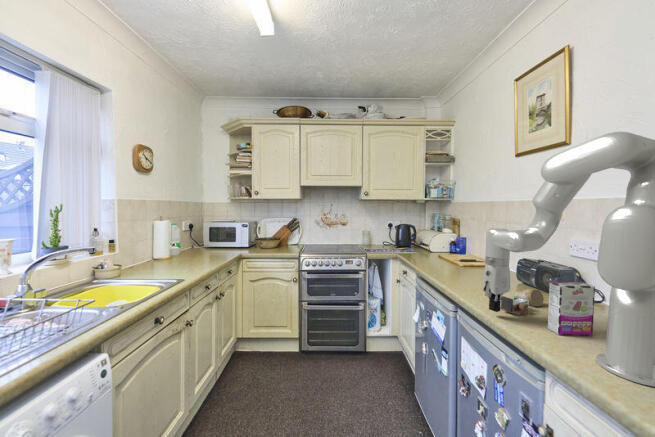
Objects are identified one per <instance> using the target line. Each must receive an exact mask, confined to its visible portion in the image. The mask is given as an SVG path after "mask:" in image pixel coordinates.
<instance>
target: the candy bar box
mask: <svg viewBox="0 0 655 437" xmlns="http://www.w3.org/2000/svg"><path fill="white" fill-rule="evenodd" d="M548 283H549V286H548V287H549V288H548V291H549V292H548V309H547V310H548V311H547V329H548V330H549V331H551V332H553V333H554V334H556V335H558V336H576V337H577V336H587V337H588V336H589V337H590V336H593V335H594V313H595V312H594V311H595V297H596V296H595V295H596V294H595V293H596V286H595V285H592V284H589V283H586V282H580V281H579V282H578V281H577V282H575V281H574V282H573V281H572V282H571V281H569V282H567V281H566V282H565V281H562V282H559V281H550V282H548Z"/></svg>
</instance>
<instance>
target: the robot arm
mask: <svg viewBox="0 0 655 437" xmlns="http://www.w3.org/2000/svg"><path fill="white" fill-rule="evenodd" d="M608 169H617V170H625V171H627V172H629V174H630V178H629V181H628V183H627V187H626V192H625V199H624V205H622V206H619V207H616V208H615V209H613V210H612V211H611V212H610V213H609V214H607V216H606V217H605V219H604V220H603V223H602V227H601V234H600V240H599V247H598V255H597V266H596V267H597V272H598V274H599V276H600V278H601V279H602V280H603V281H604V282H605V283H606V284H607V285H609V286H611V289H610V293H609V302H608V314H607V323H606V324H607V326H606V338H605V339H606V341H605V351H604V352H602V353H598V354H597V355H596V360H595V361H596V362H597V363H598V365H600V366H601V367H602V368H603V369H604V370H607V371H608V372H610V373H612V374H614V375H616V376H618V377H619V378H623V379H626V380H628V381H631V382H634V383H636V384H641V385H644V386H648V387H655V139H653V138H648V137H646V136H643V135H639V134H636V133H633V132H628V131H615V132H608V133H606V134H602V135H599V136H597V137H595V138H592V139H588V140H586V141H585V142H582V143H580V144H577V145H575V146H573V147H570V148H567V149H564V150H562V151H560V152H558V153H556V154H555V153H554V155H552V156H550V157H549V158H547V159H545V161H544V162H543V164H542V166H541V168H540V176H541V177H542V179H543V180H544V182H543V183H542V185H541V186H540V188H539V189H538V191H537V192H536V193H535V195H534V196H533V197H532V201H531V202H532V204H533V206H534V208H535V215H534V217H533V219H532V221H531V223H530V224H529V225H528V226H527V227H526V229H517V230H515V229H514V230H512V229H511V230H509V229H507V228H501V227H500V228H499V227H498V228H493V227H492V228H488V229H487V231H486V234H485V235H486V239H485V254H484V255H485V256H484V271H483V278H482V290H483V292H484V296H485V297H488V309H489V310H490V311H493V312H496V313H499V312H501V309H500V307H501V299H502V296H504V295H505V294H507V293H509V292H510V291H511V269H510V258H511V257H510V256H511V254H510V253H511V252H512V253H526V252H533V251H538V250H539V249H541V248H543V247H544V246H545V244H547V243H548V241H549V239H551V237H552V236H553V235H554V233H556V231H557V228H558V227H559V225H560V223H561V219H562V216H563V212H565V210H566V208H567V207H568V206H569V205H570V203H571V202H572V200H573V199H574V198H575V197H576V196H577V194H578V193H579V191H581V190H582V188H583V187H584V186H585V184H586V183H587V182H588V180H589V179H590V178H591V176H592V174H596V173H598V172H599V173H600V172H601V171H605V170H608Z"/></svg>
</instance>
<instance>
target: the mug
mask: <svg viewBox="0 0 655 437" xmlns="http://www.w3.org/2000/svg"><path fill="white" fill-rule="evenodd" d="M514 296H517V297H521V298H524V299H527V300H529V306H532V307H541V306H543V303H544V300H545V299H544V295H543V294H542V291H541V290H539V289H536V288H529V289H525V290H523V291H516V292H515V294H514ZM512 299H513V298H512ZM513 300H514V299H513Z"/></svg>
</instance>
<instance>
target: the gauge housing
mask: <svg viewBox="0 0 655 437" xmlns="http://www.w3.org/2000/svg"><path fill="white" fill-rule="evenodd" d="M500 311H504V312H506V313H510V314H513V315H516V316H519V317H520V316H524V315H526V314H528V313H529V308H528V304H527V303H522V304H519V309H517V310H513V311H512V312H509V311H506V310H503V309H501V306H500Z"/></svg>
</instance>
